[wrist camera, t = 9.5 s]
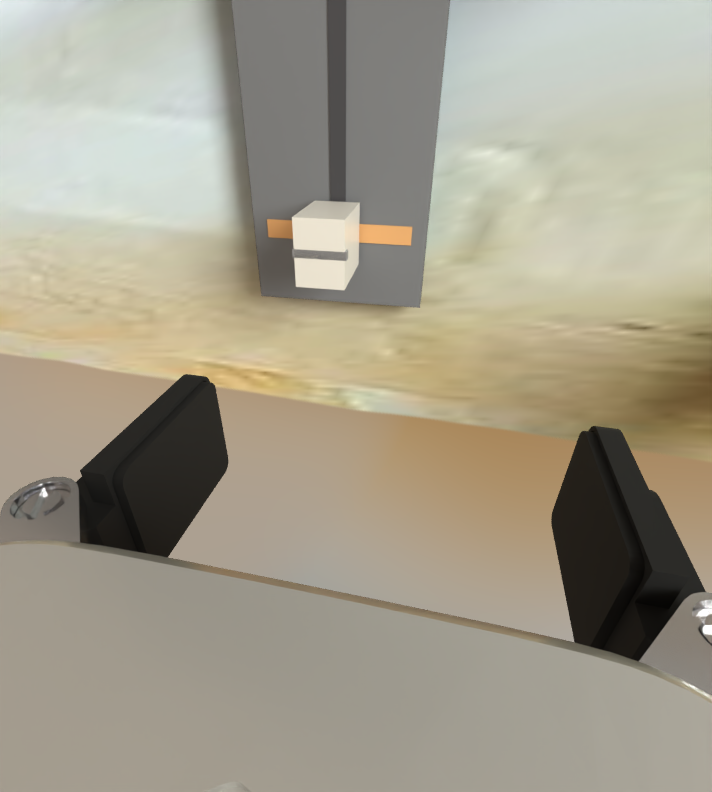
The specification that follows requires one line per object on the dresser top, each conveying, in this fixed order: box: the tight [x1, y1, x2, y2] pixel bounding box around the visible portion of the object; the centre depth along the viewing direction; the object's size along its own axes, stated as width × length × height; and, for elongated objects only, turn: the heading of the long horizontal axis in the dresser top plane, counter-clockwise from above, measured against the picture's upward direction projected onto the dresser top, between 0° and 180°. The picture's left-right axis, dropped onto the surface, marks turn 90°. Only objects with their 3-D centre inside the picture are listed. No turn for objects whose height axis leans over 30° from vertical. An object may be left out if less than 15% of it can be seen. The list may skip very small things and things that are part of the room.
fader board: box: [231, 0, 450, 308], centre depth 28 cm, size 12×24×2 cm, turn 179°
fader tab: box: [292, 201, 360, 290], centre depth 28 cm, size 3×4×5 cm
